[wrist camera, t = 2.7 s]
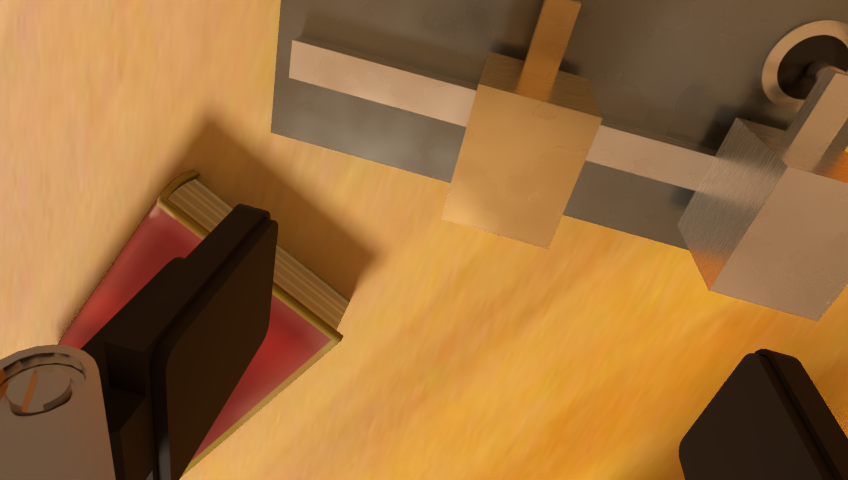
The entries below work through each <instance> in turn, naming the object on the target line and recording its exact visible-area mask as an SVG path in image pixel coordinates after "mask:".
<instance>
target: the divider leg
mask: <svg viewBox="0 0 848 480" xmlns="http://www.w3.org/2000/svg"><path fill="white" fill-rule="evenodd" d="M580 7H581V3H580V1H577V0H544V2H543V5H542V8H541V12H540V15H539V18H538V21H537V24H536V27H535V30H534V33H533V37H532V40H531V43H530V46H529V49H528V52H527V55H526V59H525V61H523V60H519V59H515V58H512V57H508V56H504V55H501V54H497V53H493V52H490V51H489V53H488V56H487V59H486V62H485V65H484V69H483V72H482V75H481V78H480V81H479V84H478V88H477V92H476V95H475V99H474V102H473V106H472V109H471V113H470V117H469V120H468V124H467V127H466V131H465V134H464V138H463V142H462V145H461V149H460V152H459V156H458V159H457V163H456V167H455V170H454V174H453V177H452V181H451V184H450V188H449V192H448V195H447V199H446V202H445V206H444V209H443V213H442V217H441V219H444V220H447V221H451V222H454V223H458V224H461V225H465V226H468V227H472V228H476V229H479V230H483V231H486V232H490V233H493V234H497V235H500V236H504V237H507V238H511V239H514V240H518V241H521V242H525V243H528V244H532V245H535V246H539V247H543V248H546V249H548V248H549V246H550V243H551V241H552V239H553V236H554V234H555V231H556V229H557V227H558V224H559V222H560V219H561V217H562V215H563V212H564V210H565V208H566V205H567V203H568V200H569V198H570V196H571V193H572V191H573V188H574V186H575V184H576V181H577V179H578V176H579V174H580V172H581V169H582V167H583V164H584V162H585V160H586V157H587V155H588V152H589V150H590V148H591V145H592V143H593V140H594V138H595V136H596V133H597V131H598V128H599V126H600V124H601V121H602V119H603V117H602V115H601V112H600V109H599V107H598V104H597V101H596V98H595V96H594V93H593V90H592V88H591V85H590V82H589V79H588V78H585V77H581V76H577V75H574V74H570V73H566V72H563V71H559V70H558V69H559V66H560V63H561V61H562V58H563V55H564V52H565V49H566V46H567V44H568V41H569V38H570V35H571V32H572V29H573V27H574V24H575V21H576V18H577V15H578V13H579V10H580Z"/></svg>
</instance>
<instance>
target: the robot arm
mask: <svg viewBox="0 0 848 480" xmlns="http://www.w3.org/2000/svg"><path fill="white" fill-rule="evenodd" d="M277 234H278V223H277V221H273V220H270V213H269V212H268V211H265V210H262V209H258V208H254V207H251V206H247V205H243V204H238V205H237V206H236V207H235V208H234V209H233V210H232V211H231V212H230V213H229V214H228V215H227V216H226V217H225V218H224V219H223V220H222V221H221V222H220V223H219V224H218V225H217V226H216V227H215V228H214V229H213V230H212V231H211V232H210V233H209V234H208V235H207V236H206V237H205V238H204V239H203V240H202V241H201V243H200V244H199V245H198V246H197V247H196V248H195V249H194V250H193V251H192V252H191V253H190V254H189V255H188V256H187V257H186V258H183V257H176V258H174V259H172V260H171V261H170V262H168V263H167V264H166V265H165V266H164V267H163V268H162V269H161V270H160V271H159V272H158V273H157V274H156V275H155V276H154V277H153V278H152V279H151V280H150V281H149V282H148V283H147V284H146V285H145V286H144V287H143V288H142V289H141V290H140V291H139V292H138V293H137V294H136V295H135V296H134V297H133V298H132V299H131V300H130V301H129V302H128V303H127V304H126V305H125V306H124V307H123V308H122V309H121V310H120V311H119V312H118V313H117V314H116V315H114V316H113V317H112V318H111V319H110V320H109V321H108V322H107V323H106V324H105V325H104V326H103V327H102V328H101V329H100V330H99V331H98V332H97V333H96V334H95V335H94V336H93V337H92V338H91V339H90V340H89V341H88V342H87V343H86V344H85V345H84V346H83V347H82V348H81V349H77V348H74V347H72V346H63V345H46V346H36V347H33V348H29V349H25V350H22V351H18V352H16V353H14V354H12V355H10V356H8V357H5V358H3V359H1V360H0V480H179V479H180V478H181V476H182V475H183V473H184V471H185V470H186V468H187V466H188V465H189V463H190V461H191V460H192V458H193V456H194V455H195V453H196V452H197V450H198V448H199V447H200V445H201V443H202V442H203V440H204V438H205V437H206V435H207V433H208V432H209V430H210V428H211V427H212V425H213V423H214V422H215V420H216V419H217V417H218V415H219V414H220V412H221V410H222V409H223V407H224V405H225V404H226V402H227V400H228V399H229V397H230V395H231V394H232V392H233V391H234V389H235V387H236V386H237V384H238V382H239V381H240V379H241V377H242V376H243V374H244V372H245V371H246V369H247V367H248V366H249V364H250V362H251V361H252V359H253V358H254V356H255V354H256V353H257V351H258V349H259V348H260V346H261V344H262V343H263V341H264V339H265V337H266V334H267V331H268V327H269V321H270V310H271V299H272V288H273V277H274V266H275V255H276V245H277ZM679 459H680V462H681V466H682V469H683V473H684V476H685V480H848V439H847V437H846V435H845V434H844V432H843V430H842V429H841V427H840V426H839V424H838V422H837V421H836V419H835V418H834V416H833V414H832V413H831V411H830V410H829V408H828V406H827V405H826V403H825V401H824V400H823V398H822V397H821V395H820V393H819V392H818V390H817V389H816V387H815V385H814V384H813V382H812V380H811V379H810V377H809V376H808V374H807V372H806V371H805V369H804V368H803V366H802V364H801V363H800V362H799V360H798V359H797V358H794V357H792V356H789V355H785V354H781V353H778V352H774V351H771V350H767V349H760V350H758V351H756V352H755V353H754V354H753V353H749V354H747V355H746V356H745V357H744V358H743V359H742V360H741V362H740V363H739V364H738V366H737V367H736V368H735V370H734V371H733V372H732V374H731V375H730V376H729V378H728V379H727V380H726V382H725V383H724V384H723V386H722V387H721V388H720V390H719V391H718V392H717V394H716V395H715V396H714V398H713V399H712V400H711V402H710V403H709V404H708V406H707V407H706V408H705V410H704V411H703V412H702V414H701V415H700V416H699V418H698V419H697V420H696V421H695V423H694V424H693V425H692V427H691V428H690V429H689V431H688V432H687V433H686V435H685V436H684V437H683V439H682V441H681V443H680V446H679Z"/></svg>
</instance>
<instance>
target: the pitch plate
mask: <svg viewBox="0 0 848 480" xmlns="http://www.w3.org/2000/svg"><path fill="white" fill-rule="evenodd" d="M577 1H580V3H581V7H580V10H579V13H578V15H577V18H576V21H575V24H574V27H573V29H572V32H571V35H570V38H569V41H568V44H567V46H566V49H565V52H564V55H563V58H562V61H561V63H560V66H559V69H558V70H559V71H563V72H566V73H570V74H574V75H577V76H581V77H585V78H588V79H589V82H590V85H591V88H592V90H593V93H594V96H595V98H596V101H597V104H598V107H599V109H600V112H601V115H602V117H603V119H602V121H601V124H600V126H599V128H598V131H597V133H596V136H595V138H594V140H593V143H592V145H591V148H590V150H589V152H588V155H587V157H586V160H585V162H584V164H583V167H582V169H581V172H580V174H579V176H578V179H577V181H576V184H575V186H574V188H573V191H572V193H571V196H570V198H569V200H568V203H567V205H566V208H565V210H564V212H563V215H566V216H569V217H573V218H577V219H580V220H584V221H587V222H591V223H594V224H598V225H601V226H605V227H609V228H612V229H616V230H619V231H623V232H626V233H630V234H633V235H637V236H641V237H644V238H648V239H651V240H655V241H658V242H662V243H665V244H669V245H672V246H676V247H680V248H683V249H687V250H690V253H691V255H692V257H693V259H694V261H695V263H696V265H697V267H698V269H699V271H700V273H701V275H702V277H703V279H704V281H705V284H706V286H707V288H708V290H709V291H713V292H716V293H720V294H723V295H727V296H730V297H734V298H737V299H741V300H744V301H748V302H751V303H755V304H758V305H762V306H765V307H769V308H773V309H776V310H780V311H783V312H787V313H790V314H794V315H797V316H801V317H804V318H808V319H811V320H815V321H818V320H819V319H820V318H821V316H822V315H823V314H824V313H825V311H826V310H827V309H828V308H829V307H830V305H831V304H832V303H833V302H834V300H835V299H836V298H837V297H838V295H839V294H840V293H841V292H842V290H843V289H844V288H845V287H846V285H847V284H848V153H847V152H846V151H844V150H845V149H846V147H847V146H848V0H577ZM543 2H544V0H281V7H280V20H279V33H278V46H277V59H276V72H275V85H274V98H273V111H272V124H271V133H275V134H278V135H282V136H285V137H289V138H292V139H296V140H300V141H303V142H307V143H310V144H314V145H317V146H321V147H324V148H328V149H332V150H335V151H339V152H342V153H346V154H349V155H353V156H356V157H360V158H364V159H367V160H371V161H374V162H378V163H381V164H385V165H388V166H392V167H395V168H399V169H403V170H406V171H410V172H413V173H417V174H420V175H424V176H427V177H431V178H435V179H438V180H442V181H445V182H449V183H451V181H452V177H453V174H454V170H455V167H456V163H457V159H458V156H459V152H460V149H461V145H462V142H463V138H464V134H465V131H466V127H467V124H468V120H469V117H470V113H471V109H472V106H473V102H474V99H475V95H476V92H477V88H478V84H479V81H480V78H481V75H482V72H483V69H484V65H485V62H486V59H487V56H488V53H489V51H490V52H493V53H497V54H501V55H504V56H508V57H512V58H515V59H519V60H523V61H525V59H526V55H527V52H528V49H529V46H530V43H531V40H532V37H533V33H534V30H535V27H536V24H537V21H538V18H539V15H540V12H541V8H542V5H543Z"/></svg>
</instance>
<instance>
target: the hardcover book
mask: <svg viewBox="0 0 848 480" xmlns="http://www.w3.org/2000/svg"><path fill="white" fill-rule="evenodd" d="M198 175H199V174H198V173H197V172H196V171H194V170H191V171H188V172H186V173H184V174H182V175H180V176H178V177H177V178H175V179H174V180H173V181H172V182H171V183H169V184H168V185H167V186H166V188H165V189H164V190H163V192H162V193H161V194H160V196H159V197H158V199H157V200H156V202H155V203H154V204H153V206H152V207H151V209H150V210H149V212H148V213H147V215H146V216H145V218H144V219H143V221H142V222H141V223H140V225H139V226H138V228H137V229H136V231H135V232H134V234H133V235H132V237H131V238H130V239H129V241H128V242H127V244H126V245H125V247H124V248H123V250H122V251H121V253H120V254H119V256H118V257H117V258H116V260H115V261H114V263H113V264H112V266H111V267H110V269H109V270H108V272H107V273H106V275H105V276H104V277H103V279H102V280H101V282H100V283H99V285H98V286H97V288H96V289H95V291H94V292H93V293H92V295H91V296H90V298H89V299H88V301H87V302H86V304H85V305H84V307H83V308H82V310H81V311H80V312H79V314H78V315H77V317H76V318H75V320H74V321H73V323H72V324H71V326H70V327H69V329H68V330H67V331H66V333H65V334H64V336H63V337H62V339H61V340H60V342H59V343H58V345H63V346H72V347H74V348H77V349H81V348H82V347H83V346H84V345H85V344H86V343H87V342H88V341H89V340H90V339H91V338H92V337H93V336H94V335H95V334H96V333H97V332H98V331H99V330H100V329H101V328H102V327H103V326H104V325H105V324H106V323H107V322H108V321H109V320H110V319H111V318H112V317H113V316H114V315H116V314H117V313H118V312H119V311H120V310H121V309H122V308H123V307H124V306H125V305H126V304H127V303H128V302H129V301H130V300H131V299H132V298H133V297H134V296H135V295H136V294H137V293H138V292H139V291H140V290H141V289H142V288H143V287H144V286H145V285H146V284H147V283H148V282H149V281H150V280H151V279H152V278H153V277H154V276H155V275H156V274H157V273H158V272H159V271H160V270H161V269H162V268H163V267H164V266H165V265H166V264H167V263H168V262H170V261H171V260H172V259H174V258H176V257H183V258H186V257H187V256H188V255H189V254H190V253H191V252H192V251H193V250H194V249H195V248H196V247H197V246H198V245H199V244H200V243H201V241H202V240H203V239H204V238H205V237H206V236H207V235H208V234H209V233H210V232H211V231H212V230H213V229H214V228H215V227H216V226H217V225H218V224H219V223H220V222H221V221H222V220H223V219H224V218H225V217H226V216H227V215H228V214H229V213H230V212H231V211H232V210H233V208H232V207H231V206H229V205H228V204H227V203H226V202H224V201H223V200H222V199H221V198H219V197H218V196H217V195H216V194H214V193H213V192H212V191H210V190H209V189H208V188H207V187H205V186H204V185H203V184H202V183H200V182H199V181H198V180H197V179H196V178H197V177H198ZM349 302H350V301H348V300H347V299H346V298H345V297H343V296H342V295H341V294H340V293H338V292H337V291H336V290H335V289H333V288H332V287H331V286H330V285H328V284H327V283H326V282H325V281H323V280H322V279H321V278H319V277H318V276H317V275H316V274H314V273H313V272H312V271H311V270H309V269H308V268H307V267H306V266H304V265H303V264H302V263H301V262H299V261H298V260H297V259H296V258H294V257H293V256H292V255H291V254H289V253H288V252H287V251H286V250H284V249H283V248H282V247H281V246H279V245H278V244H277V245H276V255H275V266H274V277H273V288H272V299H271V310H270V321H269V327H268V331H267V334H266V337H265V339H264V341H263V343H262V344H261V346H260V348H259V349H258V351H257V353H256V354H255V356H254V358H253V359H252V361H251V362H250V364H249V366H248V367H247V369H246V371H245V372H244V374H243V376H242V377H241V379H240V381H239V382H238V384H237V386H236V387H235V389H234V391H233V392H232V394H231V395H230V397H229V399H228V400H227V402H226V404H225V405H224V407H223V409H222V410H221V412H220V414H219V415H218V417H217V419H216V420H215V422H214V423H213V425H212V427H211V428H210V430H209V432H208V433H207V435H206V437H205V438H204V440H203V442H202V443H201V445H200V447H199V448H198V450H197V452H196V453H195V455H194V456H193V458H192V460H191V461H190V463H189V465H188V466H187V468H186V470H185V471H184V473H183V475H184V474H185V473H186V472H188V471H189V470H190V469H191V468H192V467H193V466H195V465H196V464H197V463H198V462H199V461H201V460H202V459H203V458H204V457H205V456H206V455H208V454H209V453H210V452H211V451H212V450H213V449H215V448H216V447H217V446H218V445H219V444H220V443H222V442H223V441H224V440H225V439H226V438H228V437H229V436H230V435H231V434H232V433H233V432H235V431H236V430H237V429H238V428H239V427H240V426H242V425H243V424H244V423H245V422H246V421H247V420H249V419H250V418H251V417H252V416H253V415H254V414H256V413H257V412H258V411H259V410H260V409H262V408H263V407H264V406H265V405H266V404H267V403H269V402H270V401H271V400H272V399H273V398H274V397H276V396H277V395H278V394H279V393H280V392H281V391H283V390H284V389H285V388H286V387H287V386H289V385H290V384H291V383H292V382H293V381H294V380H296V379H297V378H298V377H299V376H300V375H301V374H303V373H304V372H305V371H306V370H307V369H308V368H310V367H311V366H312V365H313V364H314V363H315V362H317V361H318V360H319V359H320V358H321V357H323V356H324V355H325V354H326V353H327V352H328V351H330V350H331V349H332V348H333V347H334V346H335V345H337V344H338V343H339V342H340V341H341V340H342V338H343V335H342V334H340V333H339V332H338V331H336V329H337V327H338V325H339V323H340V321H341V319H342V317H343V315H344V313H345V311H346V308H347V306H348V304H349ZM183 475H182V476H183ZM182 476H181V477H182Z"/></svg>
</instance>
